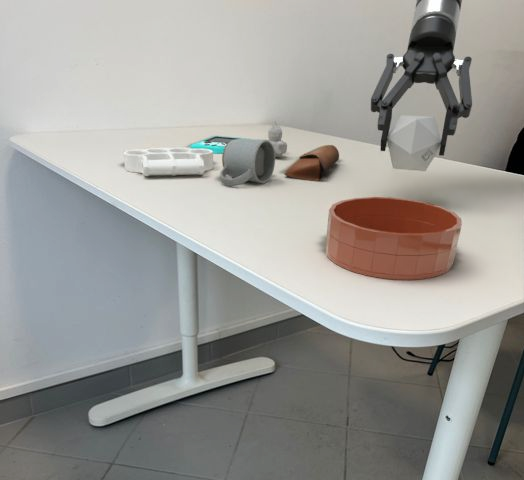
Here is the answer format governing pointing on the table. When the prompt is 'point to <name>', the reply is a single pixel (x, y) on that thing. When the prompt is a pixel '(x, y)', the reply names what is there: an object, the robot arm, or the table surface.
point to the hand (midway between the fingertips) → (412, 147)
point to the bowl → (392, 237)
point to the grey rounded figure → (277, 140)
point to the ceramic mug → (247, 161)
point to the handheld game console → (214, 144)
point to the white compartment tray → (168, 161)
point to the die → (413, 142)
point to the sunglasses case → (314, 163)
